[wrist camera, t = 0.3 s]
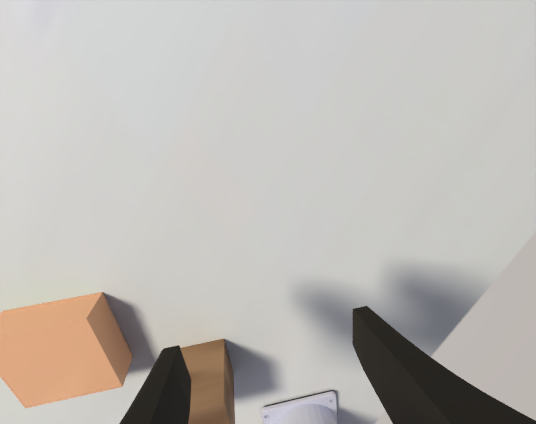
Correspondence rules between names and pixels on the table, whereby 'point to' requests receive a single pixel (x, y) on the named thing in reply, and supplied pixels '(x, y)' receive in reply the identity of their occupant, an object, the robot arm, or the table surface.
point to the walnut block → (210, 383)
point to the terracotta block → (62, 350)
